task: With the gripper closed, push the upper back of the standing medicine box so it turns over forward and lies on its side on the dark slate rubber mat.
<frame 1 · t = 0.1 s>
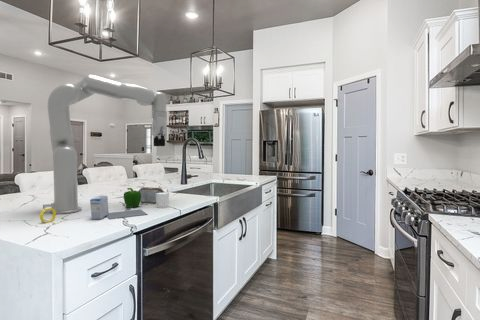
hand: (159, 146, 161), 31 cm above the counter, tool pointing down, fingers open, 9 cm apart
grey curved block: (150, 203, 160), on the counter
yellow ring: (48, 222, 118), on the counter
shot glass: (162, 207, 149), on the counter
mat: (125, 214, 132), on the counter
medicine box: (100, 217, 126), on the counter, touching mat
bell pepper: (132, 207, 149), on the counter
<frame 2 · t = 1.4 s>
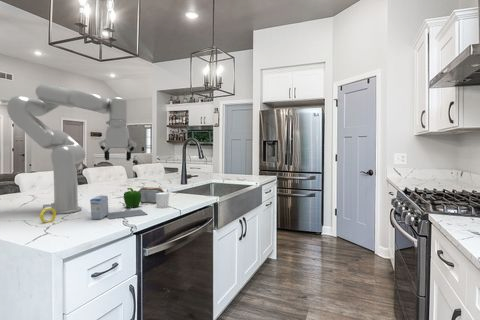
hand: (117, 160, 138), 24 cm above the counter, tool pointing down, fingers open, 9 cm apart
nothing on the counter moved.
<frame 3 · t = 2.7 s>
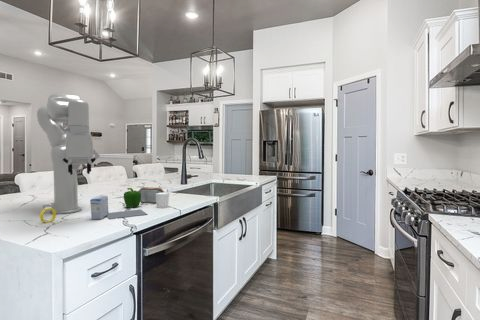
hand: (79, 173, 121), 20 cm above the counter, tool pointing down, fingers open, 5 cm apart
nothing on the counter moved.
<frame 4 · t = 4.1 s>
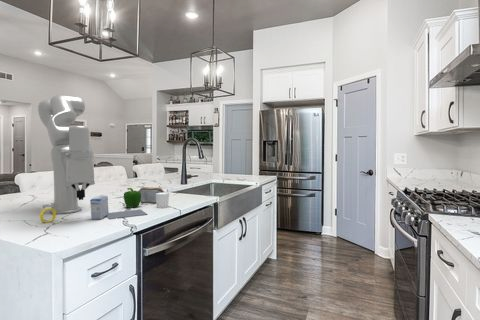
hand: (80, 199, 121), 9 cm above the counter, tool pointing down, fingers closed
nothing on the counter moved.
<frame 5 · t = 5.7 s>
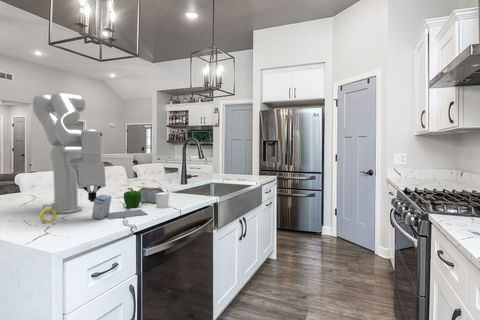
hand: (92, 201, 124), 7 cm above the counter, tool pointing down, fingers closed
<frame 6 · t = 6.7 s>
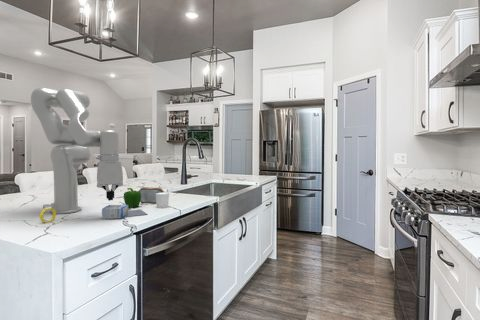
hand: (110, 199, 128), 7 cm above the counter, tool pointing down, fingers closed
medicine box: (104, 211, 126), point 2 cm above the counter, touching mat
everything else where it was.
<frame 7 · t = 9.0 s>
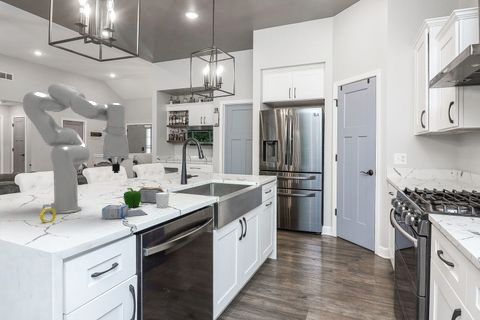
hand: (116, 172, 129), 19 cm above the counter, tool pointing down, fingers closed
nothing on the counter moved.
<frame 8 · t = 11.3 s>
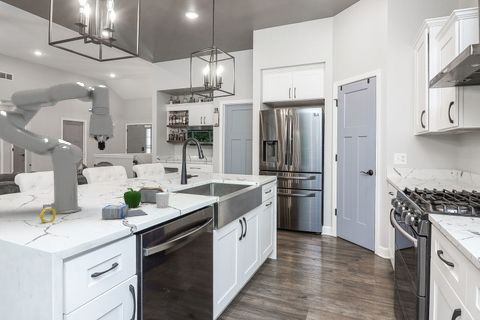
hand: (101, 150, 140), 29 cm above the counter, tool pointing down, fingers closed
nothing on the counter moved.
at the end: medicine box tilted 89°; medicine box inside the target area (7.0 cm from its centre), point 2.4 cm above the counter; medicine box touching mat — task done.
